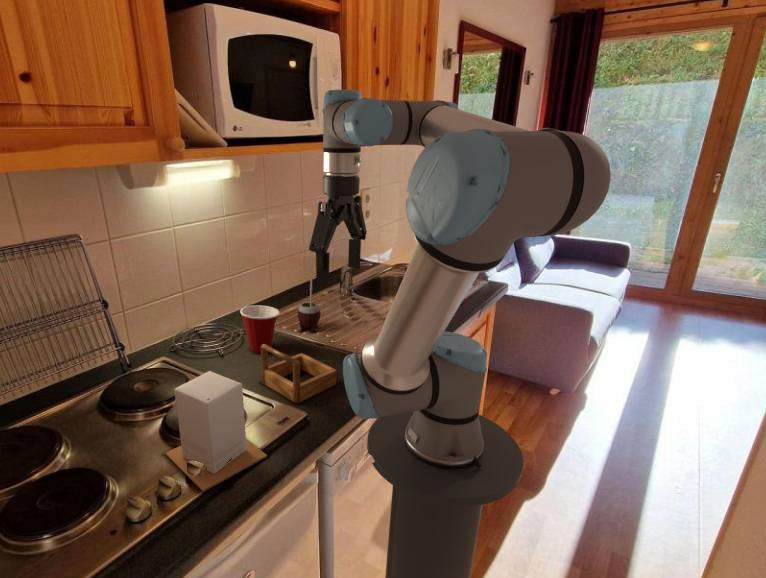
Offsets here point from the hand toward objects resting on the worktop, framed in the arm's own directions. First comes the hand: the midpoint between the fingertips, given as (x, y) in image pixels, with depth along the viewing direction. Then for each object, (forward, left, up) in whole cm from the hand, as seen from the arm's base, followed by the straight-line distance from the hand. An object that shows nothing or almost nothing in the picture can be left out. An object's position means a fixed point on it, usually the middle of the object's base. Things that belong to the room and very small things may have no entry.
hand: (339, 275), depth 105 cm
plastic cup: (+30, 0, -29) cm, 42 cm away
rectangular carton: (-2, +35, -28) cm, 45 cm away
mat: (-2, +35, -29) cm, 45 cm away
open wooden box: (+8, +5, -29) cm, 30 cm away
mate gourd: (+32, -20, -29) cm, 47 cm away
